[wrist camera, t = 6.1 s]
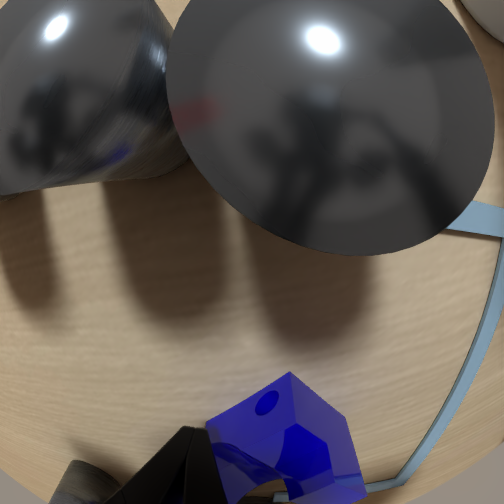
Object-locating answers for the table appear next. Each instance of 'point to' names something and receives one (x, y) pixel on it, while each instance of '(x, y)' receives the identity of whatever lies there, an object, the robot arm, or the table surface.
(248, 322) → the table surface
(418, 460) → the taped bay
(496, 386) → the table surface
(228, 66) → the spacers
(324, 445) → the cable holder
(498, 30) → the beverage can
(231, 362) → the table surface
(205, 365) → the table surface
